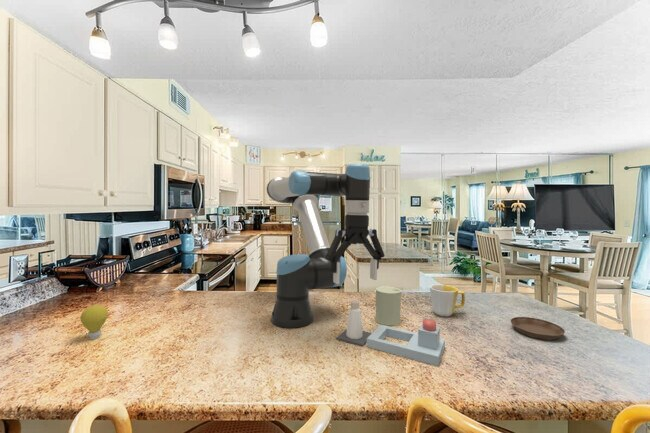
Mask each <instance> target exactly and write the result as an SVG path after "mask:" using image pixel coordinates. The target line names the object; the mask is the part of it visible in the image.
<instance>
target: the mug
mask: <svg viewBox="0 0 650 433" xmlns="http://www.w3.org/2000/svg"><path fill="white" fill-rule="evenodd" d="M429 290H430V297H431V306H432V311H433V312H434V313H435V314H436V315H437V316H441V317H450V316H452V315H453V314H454V313H455V310H456V309H460V308H464V306H465V302H466V296H465V295H466V294H465V292H464V291H461V290H459V289H458V287H455V286H452V285H448V284H442V283H438V284H431V285H430V286H429ZM459 294H460V295H461V302H460V304H459V305H458V304H457V305H456V303H457V298H458V295H459Z"/></svg>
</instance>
